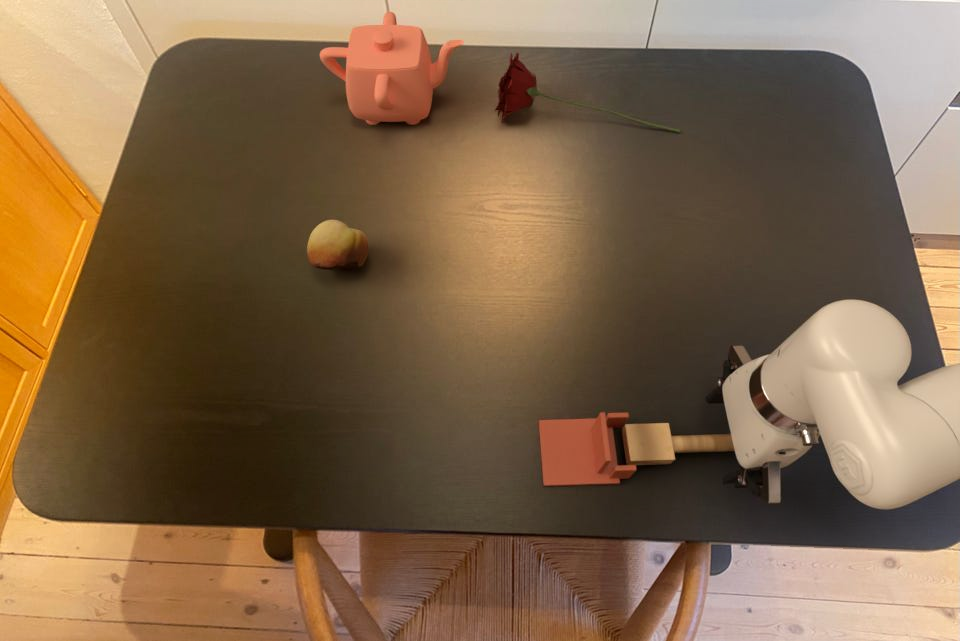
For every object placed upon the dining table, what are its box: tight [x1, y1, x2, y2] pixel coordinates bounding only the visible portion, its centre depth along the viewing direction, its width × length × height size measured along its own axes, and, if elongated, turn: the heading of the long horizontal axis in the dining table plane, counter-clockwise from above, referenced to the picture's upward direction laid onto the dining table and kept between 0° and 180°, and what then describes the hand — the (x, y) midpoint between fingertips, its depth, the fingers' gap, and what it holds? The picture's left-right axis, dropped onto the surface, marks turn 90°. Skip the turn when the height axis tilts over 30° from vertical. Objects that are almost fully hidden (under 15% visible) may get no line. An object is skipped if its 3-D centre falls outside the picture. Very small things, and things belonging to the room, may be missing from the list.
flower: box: [494, 51, 682, 133], centre depth 96 cm, size 11×10×30 cm
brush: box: [621, 422, 735, 466], centre depth 72 cm, size 15×4×3 cm, turn 92°
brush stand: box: [538, 411, 637, 487], centre depth 71 cm, size 10×8×7 cm
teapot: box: [319, 11, 465, 126], centre depth 94 cm, size 17×16×13 cm
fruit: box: [306, 219, 369, 272], centre depth 82 cm, size 8×8×8 cm
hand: (726, 439), depth 72 cm, fingers open, 9 cm apart
